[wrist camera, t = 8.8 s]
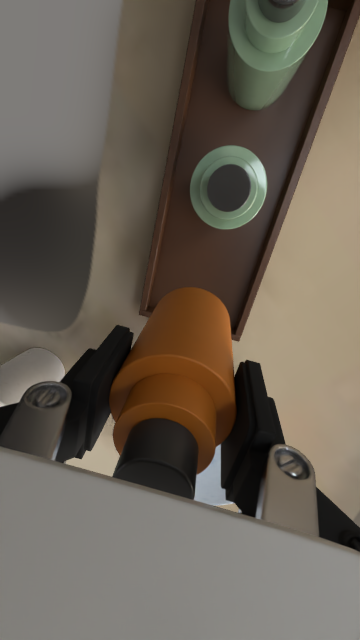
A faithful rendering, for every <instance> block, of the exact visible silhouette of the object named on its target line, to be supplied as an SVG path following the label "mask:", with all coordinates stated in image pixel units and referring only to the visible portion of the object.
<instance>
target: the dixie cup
mask: <svg viewBox="0 0 360 640" xmlns="http://www.w3.org/2000/svg"><path fill="white" fill-rule="evenodd" d="M64 375H65V371H64V367H63V364H62V362H61V361H60V359H59V358H58V357H57V356H56V355H55V354H53V353H52V352H50V351H48V350H46V349H43V348H31V349H28V350H27V351H25V352H23V353H21V354H19V355H18V356H16V357H14V358H13V359H11V360H9V361H8V362H6V363H4V364H2V365H1V366H0V407H2V406H6V405H10V404H14V403H18V402H19V401H20V399H21V398H22V396H23V394H24V392H25V391H26V390H27V389H28V388H29V387H31V386H32V385H34V384H37V383H39V382H44V381H57V382H60V381H61V380H62V378H63V377H64Z"/></svg>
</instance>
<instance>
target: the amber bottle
mask: <svg viewBox="0 0 360 640" xmlns="http://www.w3.org/2000/svg"><path fill="white" fill-rule="evenodd" d="M109 405H110V410H111V414H112V416H113V419H114V421H115V422H116V423H115V426H114V429H113V440H114V444H115V447H116V449H117V451H118V453H119V455H120V458H119V460H118V463H117V466H116V468H115V471H114V473H113V477H114V478H118V479H121V480H125V481H128V482H132V483H135V484H139V485H142V486H146V487H149V488H153V489H157V490H160V491H164V492H167V493H171V494H174V495H178V496H181V497H185V498H188V499H192V500H194V497H195V488H196V476H197V475H198V474H200V473H201V472H203V471H204V470H205V469H206V468H207V467H208V466H209V465H210V463H211V462H212V460H213V458H214V455H215V449H216V447H217V446H218V445H220V444H221V443H222V442H223V441H224V440H225V439H226V438H227V437H228V435H229V434H230V432H231V430H232V428H233V426H234V423H235V420H236V415H237V406H236V393H235V380H234V367H233V354H232V341H231V327H230V318H229V314H228V311H227V309H226V307H225V306H224V304H223V303H222V302H221V300H220V299H219V298H217V297H216V296H215V295H214V294H212V293H210V292H208V291H206V290H204V289H200V288H195V287H184V288H179V289H176V290H174V291H172V292H170V293H168V294H167V295H165V296H164V297H163V298H162V299H161V300H160V301H159V303H158V304H157V306H156V308H155V309H154V311H153V313H152V315H151V316H150V318H149V320H148V321H147V323H146V325H145V327H144V328H143V330H142V332H141V333H140V335H139V337H138V339H137V340H136V342H135V344H134V345H133V347H132V349H131V351H130V352H129V354H128V356H127V358H126V359H125V361H124V363H123V364H122V366H121V368H120V370H119V371H118V373H117V375H116V376H115V378H114V380H113V382H112V385H111V389H110V396H109Z"/></svg>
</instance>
